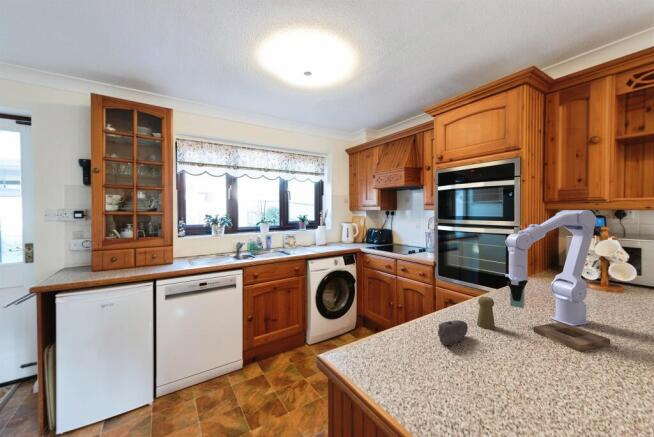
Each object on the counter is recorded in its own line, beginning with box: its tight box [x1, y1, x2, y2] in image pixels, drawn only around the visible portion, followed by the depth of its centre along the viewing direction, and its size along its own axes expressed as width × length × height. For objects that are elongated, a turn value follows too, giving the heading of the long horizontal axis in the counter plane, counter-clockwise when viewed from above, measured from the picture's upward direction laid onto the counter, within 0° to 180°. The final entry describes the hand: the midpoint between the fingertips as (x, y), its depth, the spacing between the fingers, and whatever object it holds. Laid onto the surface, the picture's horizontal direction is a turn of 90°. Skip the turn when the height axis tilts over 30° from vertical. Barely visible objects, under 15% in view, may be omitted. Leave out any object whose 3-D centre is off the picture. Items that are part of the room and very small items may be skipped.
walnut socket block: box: [533, 321, 611, 353], centre depth 90 cm, size 14×14×2 cm
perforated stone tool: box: [437, 319, 469, 346], centre depth 90 cm, size 15×5×7 cm, turn 120°
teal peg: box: [509, 288, 526, 309], centre depth 103 cm, size 4×4×7 cm
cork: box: [476, 296, 496, 330], centre depth 101 cm, size 6×6×11 cm
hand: (517, 299), depth 103 cm, fingers closed on teal peg, 4 cm apart
